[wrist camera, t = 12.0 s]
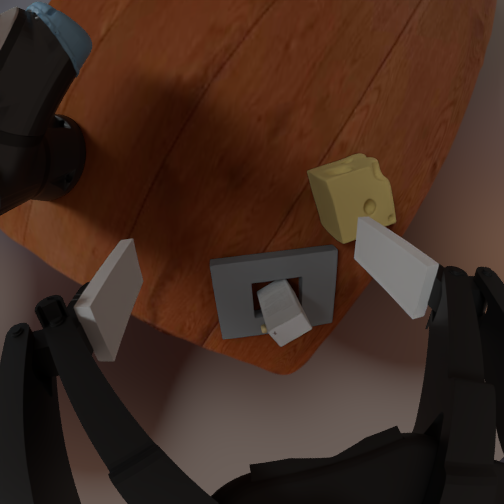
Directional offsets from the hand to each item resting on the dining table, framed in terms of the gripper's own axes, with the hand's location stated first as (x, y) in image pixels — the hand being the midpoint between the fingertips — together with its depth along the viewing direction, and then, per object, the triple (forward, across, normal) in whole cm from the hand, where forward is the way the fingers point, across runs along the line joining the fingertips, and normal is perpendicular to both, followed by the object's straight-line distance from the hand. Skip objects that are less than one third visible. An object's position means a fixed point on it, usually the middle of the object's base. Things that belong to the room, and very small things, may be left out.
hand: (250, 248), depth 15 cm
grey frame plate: (+29, +7, -22) cm, 37 cm away
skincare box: (+29, +7, -22) cm, 37 cm away
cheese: (+29, +19, -4) cm, 35 cm away
